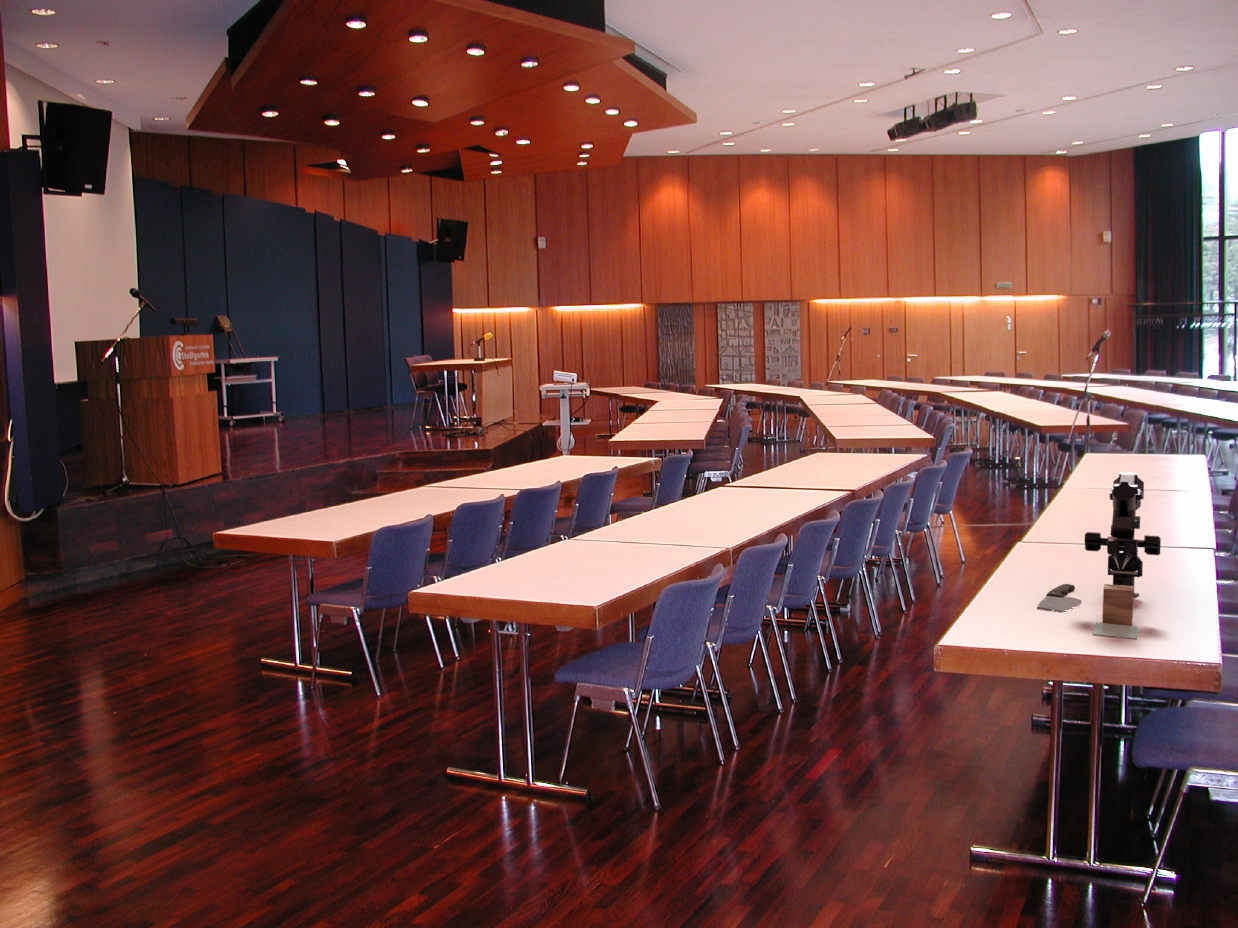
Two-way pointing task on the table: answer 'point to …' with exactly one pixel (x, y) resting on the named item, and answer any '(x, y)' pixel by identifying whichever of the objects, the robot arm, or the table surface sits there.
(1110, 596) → the slab
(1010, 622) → the table surface
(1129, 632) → the mat
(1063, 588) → the cleaver
